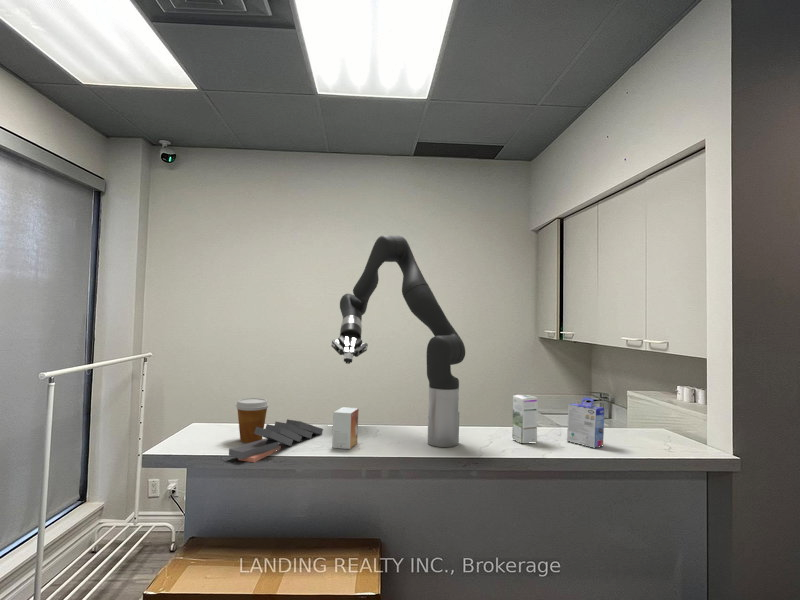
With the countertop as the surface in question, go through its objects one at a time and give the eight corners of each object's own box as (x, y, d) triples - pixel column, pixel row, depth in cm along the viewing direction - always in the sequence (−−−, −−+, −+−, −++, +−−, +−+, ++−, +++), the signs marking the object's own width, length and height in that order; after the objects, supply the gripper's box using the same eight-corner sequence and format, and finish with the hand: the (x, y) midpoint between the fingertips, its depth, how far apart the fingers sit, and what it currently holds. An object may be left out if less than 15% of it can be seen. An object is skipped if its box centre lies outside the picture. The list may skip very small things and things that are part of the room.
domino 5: (299, 430, 155) (275, 421, 144) (312, 432, 153) (289, 423, 142) (297, 436, 154) (273, 427, 144) (311, 438, 152) (287, 430, 141)
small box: (350, 449, 142) (351, 413, 142) (331, 448, 143) (332, 411, 143) (358, 442, 150) (359, 407, 150) (340, 441, 151) (341, 406, 151)
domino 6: (310, 426, 160) (287, 419, 149) (323, 429, 158) (300, 421, 147) (309, 432, 159) (285, 425, 149) (321, 434, 157) (298, 427, 146)
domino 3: (265, 443, 142) (237, 455, 130) (280, 445, 140) (254, 458, 128) (265, 449, 142) (237, 462, 129) (280, 451, 140) (254, 465, 128)
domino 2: (278, 436, 145) (256, 426, 134) (293, 439, 144) (271, 430, 132) (276, 442, 145) (253, 433, 133) (291, 446, 143) (269, 437, 132)
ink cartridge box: (604, 446, 154) (605, 400, 154) (595, 449, 150) (596, 402, 151) (575, 439, 162) (576, 395, 162) (566, 442, 158) (567, 396, 158)
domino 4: (287, 433, 150) (266, 424, 139) (302, 436, 149) (282, 427, 137) (285, 439, 150) (264, 430, 138) (300, 442, 148) (280, 433, 137)
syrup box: (537, 443, 155) (538, 397, 155) (521, 445, 153) (523, 398, 153) (526, 438, 160) (527, 394, 160) (511, 440, 158) (512, 394, 158)
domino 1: (265, 438, 141) (229, 448, 129) (278, 441, 138) (242, 452, 127) (265, 444, 140) (228, 455, 129) (278, 447, 138) (241, 459, 127)
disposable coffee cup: (228, 443, 144) (229, 402, 145) (244, 435, 154) (245, 396, 154) (258, 446, 143) (260, 404, 143) (272, 437, 152) (274, 398, 152)
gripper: (333, 319, 174) (328, 350, 159) (370, 324, 175) (369, 355, 161) (331, 336, 178) (326, 368, 163) (367, 340, 179) (366, 372, 165)
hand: (348, 361), depth 162 cm, fingers closed
